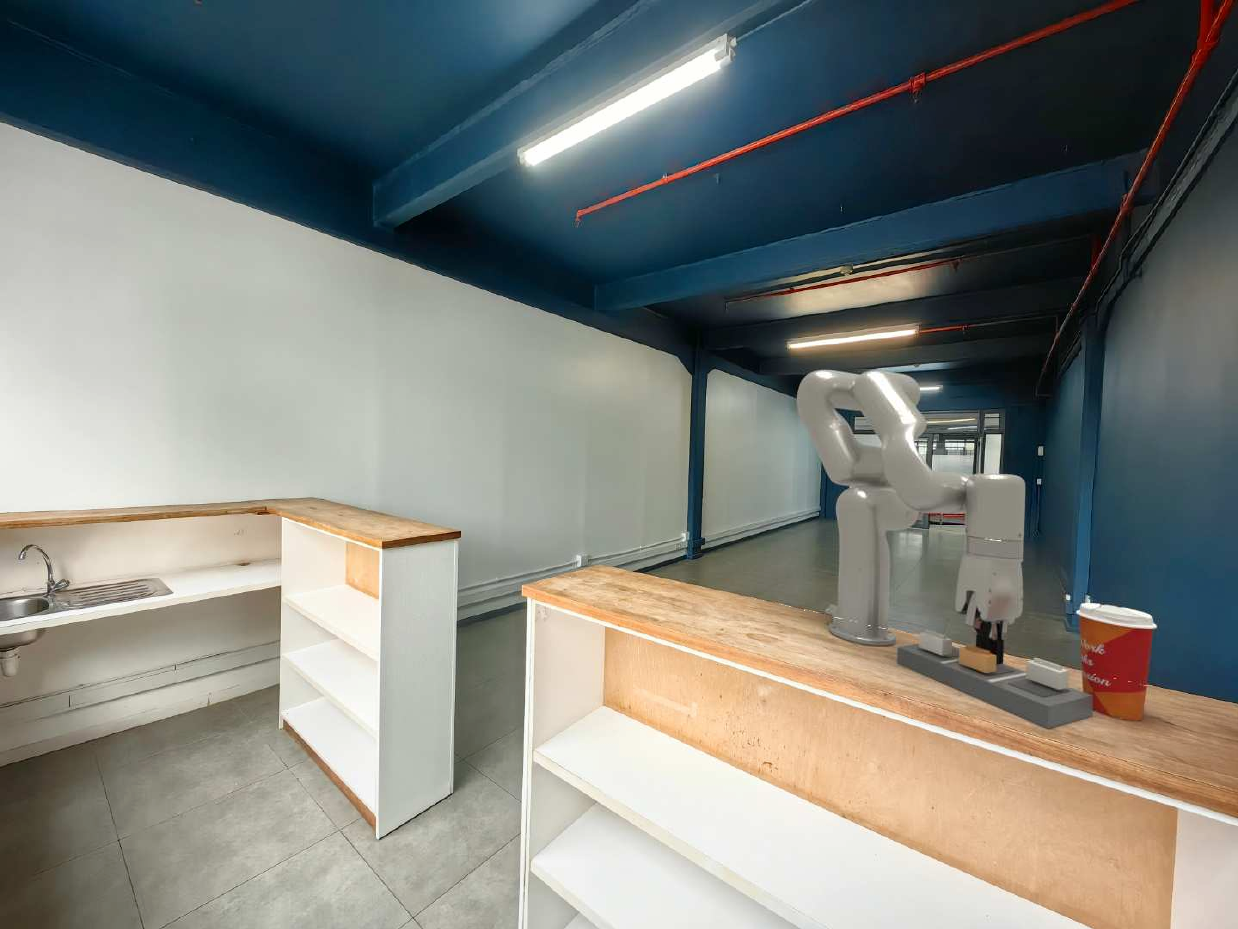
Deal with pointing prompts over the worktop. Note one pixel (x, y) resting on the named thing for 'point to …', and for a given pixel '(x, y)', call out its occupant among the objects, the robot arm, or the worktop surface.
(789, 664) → the worktop surface
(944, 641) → the switch
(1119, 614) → the coffee cup
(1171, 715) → the worktop surface
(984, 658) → the switch
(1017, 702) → the switch panel
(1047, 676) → the switch
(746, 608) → the worktop surface
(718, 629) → the worktop surface
